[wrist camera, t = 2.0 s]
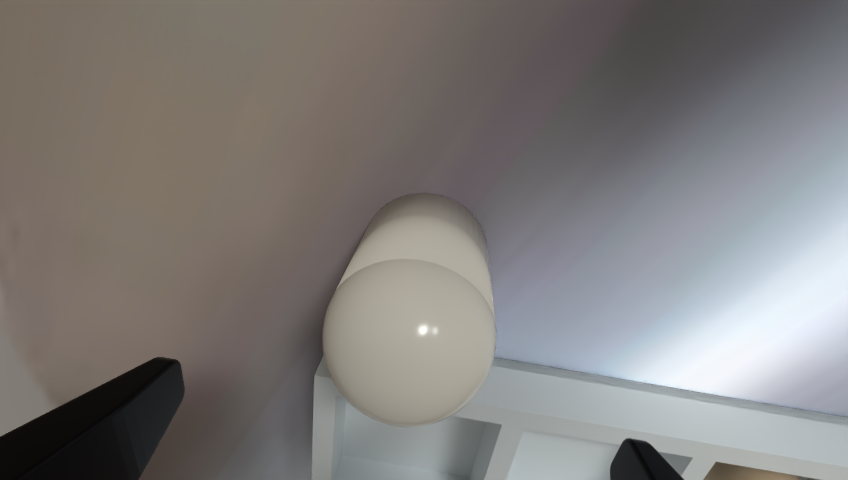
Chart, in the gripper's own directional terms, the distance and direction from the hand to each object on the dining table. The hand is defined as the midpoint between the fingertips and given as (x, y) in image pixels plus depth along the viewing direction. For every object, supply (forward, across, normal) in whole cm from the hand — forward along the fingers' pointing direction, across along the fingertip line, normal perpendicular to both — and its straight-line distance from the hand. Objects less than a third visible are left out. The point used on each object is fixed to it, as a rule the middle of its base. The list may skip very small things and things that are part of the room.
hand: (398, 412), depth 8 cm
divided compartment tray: (+7, -7, +8) cm, 13 cm away
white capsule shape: (+7, 0, 0) cm, 7 cm away
